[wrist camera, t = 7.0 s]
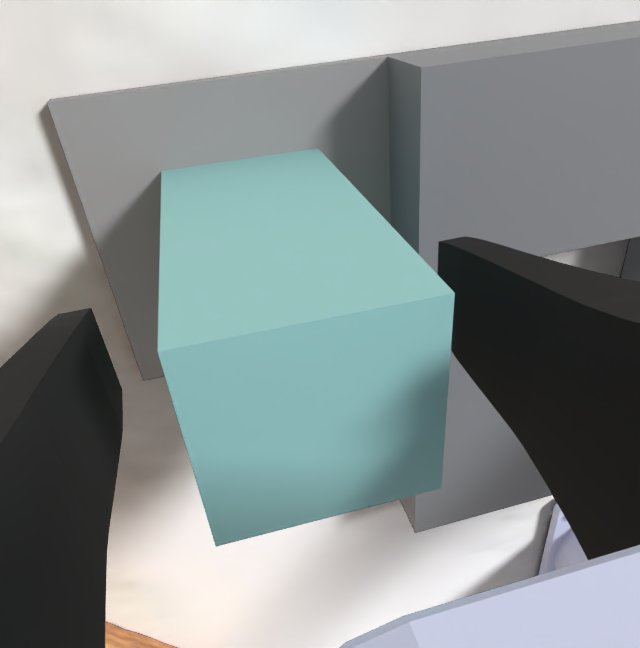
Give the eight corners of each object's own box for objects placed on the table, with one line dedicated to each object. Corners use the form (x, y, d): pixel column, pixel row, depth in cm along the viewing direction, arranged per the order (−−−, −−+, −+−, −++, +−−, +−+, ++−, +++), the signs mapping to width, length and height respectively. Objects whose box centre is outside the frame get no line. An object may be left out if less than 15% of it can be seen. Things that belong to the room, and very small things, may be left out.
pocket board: (645, 416, 24) (691, 456, 22) (391, 482, 22) (415, 532, 20) (783, 1, 15) (878, 4, 13) (382, 55, 14) (421, 67, 11)
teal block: (329, 283, 16) (441, 488, 10) (194, 308, 15) (215, 546, 9) (318, 148, 14) (454, 293, 7) (161, 171, 13) (157, 351, 7)
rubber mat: (388, 320, 18) (392, 327, 18) (143, 373, 17) (143, 381, 16) (382, 55, 14) (387, 57, 13) (49, 99, 12) (46, 102, 12)
